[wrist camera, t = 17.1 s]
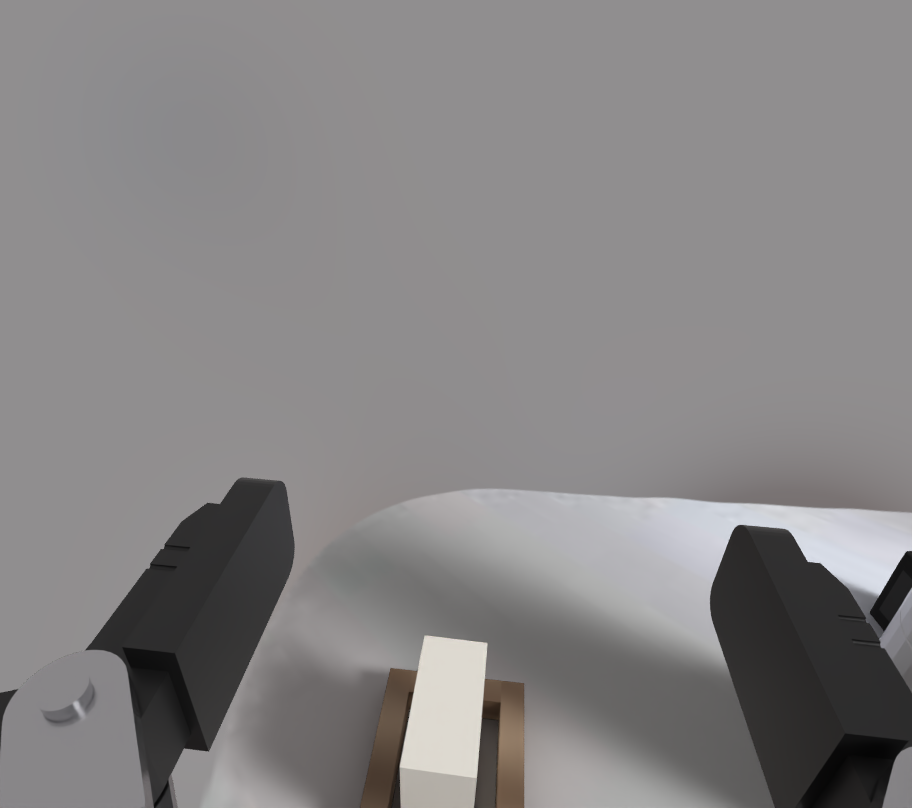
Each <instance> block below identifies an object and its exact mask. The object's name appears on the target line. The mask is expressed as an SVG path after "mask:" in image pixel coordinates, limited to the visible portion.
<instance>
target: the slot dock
mask: <svg viewBox="0 0 912 808" xmlns="http://www.w3.org/2000/svg"><path fill="white" fill-rule="evenodd" d="M417 673H418V671H411V670H402V669H394V668H391V669H390V673H389V678H388V682H387V687H386V691H385V696H384V700H383V705H382V709H381V714H380V718H379V723H378V728H377V732H376V737H375V741H374V746H373V750H372V755H371V759H370V764H369V768H368V773H367V778H366V782H365V787H364V791H363V796H362V800H361V805H360V808H392V802H393V797H394V791H395V785H396V780H397V774H398V768H399V763H400V757H401V752H402V746H403V740H404V735H405V729H406V723H407V718H408V712H409V709H410V710H411V705H412V699H413V694H414V689H415V683H416V678H417ZM482 718H485V719H494V720H499V722H498V747H497V773H496V799H495V808H524V683H516V682H508V681H499V680H490V679H485V681H484V694H483V706H482Z"/></svg>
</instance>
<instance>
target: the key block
mask: <svg viewBox="0 0 912 808" xmlns="http://www.w3.org/2000/svg"><path fill="white" fill-rule="evenodd" d="M486 655H487V643H483V642H475V641H467V640H459V639H451V638H442V637H434V636H426V635H425V636H424V641H423V646H422V652H421V657H420V662H419V667H418V673H417V678H416V683H415V689H414V694H413V699H412V705H411V710H410V715H409V720H408V726H407V731H406V736H405V742H404V747H403V752H402V757H401V763H400V797H401V808H474V802H475V792H476V782H477V770H478V758H479V745H480V732H481V719H482V706H483V694H484V681H485V668H486Z"/></svg>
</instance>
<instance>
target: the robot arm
mask: <svg viewBox="0 0 912 808" xmlns="http://www.w3.org/2000/svg"><path fill="white" fill-rule="evenodd" d="M293 558H294V537H293V531H292V524H291V517H290V511H289V504H288V497H287V491H286V487H285V484H284V483H283V482H282V481H274V480H263V479H253V478H240V479H238V480H237V481H236V482H235V483H234V485H233V486H232V488H231V489H230V490H229V492H228V493H227V495H226V496H225V498H224V499H223V501H222V502H221V504H213V503H207V504H206V505H204V506H203V507H201V508H200V509H198V510H197V511H196V512H194V513H193V514H191V515H190V516H189V517H188V518H186V519H185V520H183V521H182V522H181V523H180V525H179V526H178V527H177V529H176V530H175V531H174V533H173V534H172V535H171V537H170V538H169V539H168V541H167V542H166V543H165V547H164V549H161V550H160V551H159V553H158V554H157V555H156V557H155V558H154V559H153V561H152V562H151V563H150V568H149V569H146V570H145V572H144V573H143V574H142V576H141V577H140V578H139V580H138V581H137V582H136V584H135V585H134V586H133V588H132V589H131V591H130V592H129V593H128V595H127V596H126V597H125V599H124V600H123V601H122V603H121V604H120V605H119V606H118V608H117V609H116V611H115V612H114V613H113V615H112V616H111V617H110V619H109V620H108V621H107V623H106V624H105V625H104V627H103V628H102V629H101V631H100V632H99V633H98V635H97V636H96V637H95V639H94V640H93V641H92V643H91V644H90V645H89V646H88V648H87V649H86V650H85V651H81V652H76V653H73V654H70V655H67V656H64V657H62V658H60V659H57V660H55V661H54V662H52V663H50V664H48V665H46V666H45V667H43V668H42V669H40V670H39V671H38V672H36V673H35V674H34V675H32V676H31V677H30V678H29V679H28V680H27V681H26V682H25V683H24V684H23V685H22V686H21V687H20V688H19V689H17V690H12V691H8V692H3V693H0V808H178V806H177V800H176V795H175V789H174V783H173V779H172V775H171V773H172V771H173V769H174V767H175V765H176V763H177V761H178V759H179V757H180V755H181V753H182V751H183V749H184V748H185V749H193V750H201V751H209V750H210V748H211V746H212V743H213V741H214V739H215V737H216V735H217V732H218V730H219V728H220V726H221V724H222V722H223V719H224V717H225V715H226V713H227V710H228V708H229V706H230V704H231V702H232V700H233V697H234V695H235V693H236V691H237V689H238V687H239V684H240V682H241V680H242V678H243V676H244V673H245V671H246V669H247V667H248V665H249V662H250V660H251V658H252V656H253V654H254V651H255V649H256V647H257V645H258V643H259V641H260V638H261V636H262V634H263V632H264V630H265V627H266V625H267V623H268V621H269V619H270V616H271V614H272V612H273V610H274V608H275V605H276V603H277V601H278V599H279V597H280V595H281V592H282V590H283V588H284V586H285V584H286V581H287V579H288V577H289V574H290V571H291V568H292V564H293ZM710 610H711V617H712V621H713V624H714V627H715V630H716V633H717V636H718V639H719V642H720V645H721V648H722V651H723V654H724V657H725V660H726V663H727V666H728V669H729V672H730V675H731V678H732V681H733V684H734V687H735V690H736V693H737V696H738V699H739V702H740V705H741V708H742V711H743V714H744V717H745V720H746V723H747V726H748V728H749V731H750V734H751V737H752V740H753V743H754V746H755V749H756V752H757V755H758V758H759V761H760V764H761V767H762V770H763V773H764V776H765V779H766V782H767V785H768V788H769V791H770V794H771V797H772V800H773V803H774V806H775V808H912V588H911V590H910V591H909V593H908V595H907V596H906V598H905V600H904V602H903V603H902V605H901V606H900V608H899V609H898V611H897V613H896V614H895V616H894V617H893V619H892V620H891V622H890V624H889V625H888V627H887V628H886V630H885V631H884V633H883V635H882V636H881V638H880V639H879V638H878V637H877V635H876V633H875V632H874V630H873V629H872V627H871V625H870V624H869V623H866V621H865V619H866V617H865V615H864V614H863V612H862V611H861V609H860V607H859V606H858V604H857V602H856V601H855V599H854V598H853V596H852V594H851V593H850V591H849V589H848V588H847V587H846V586H844V585H843V584H842V583H841V582H840V581H839V580H838V579H837V578H836V577H835V576H834V575H832V574H831V573H830V572H829V571H828V570H827V569H826V568H825V567H824V566H823V565H822V564H820V563H812V562H807V560H806V558H805V556H804V555H803V553H802V551H801V549H800V548H799V546H798V544H797V542H796V540H795V539H794V537H793V536H792V534H791V533H790V532H789V531H788V530H786V529H779V528H769V527H758V526H747V525H738V526H737V527H736V528H735V529H734V530H733V532H732V534H731V537H730V539H729V542H728V545H727V547H726V550H725V553H724V555H723V558H722V561H721V563H720V566H719V569H718V571H717V574H716V577H715V579H714V582H713V585H712V588H711V595H710Z"/></svg>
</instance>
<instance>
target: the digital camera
mask: <svg viewBox="0 0 912 808" xmlns="http://www.w3.org/2000/svg"><path fill="white" fill-rule="evenodd" d="M911 588H912V551H907V552H906V553H905V554H904V556H903V557H902V559H901V560H900V562H899V564H898V565H897V567H896V569H895V570H894V572H893V574H892V575H891V577H890V579H889V581H888V582H887V584H886V586H885V587H884V589H883V591H882V592H881V594H880V596H879V597H878V599H877V601H876V602H875V604H874V606H873V608H872V609H871V611H870V613H871V615H872V616H873V617H874V619H875V620H876V621H877V622H878V624H879V625H880V626H881V627H882V629H883V630H884V631H885V630H886V628H887V627H888V625H889V624H890V622H891V620H892V619H893V617H894V616H895V614H896V613H897V611H898V609H899V608H900V606H901V605H902V603H903V602H904V600H905V598H906V596H907V595H908V593H909V591H910V590H911Z"/></svg>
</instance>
